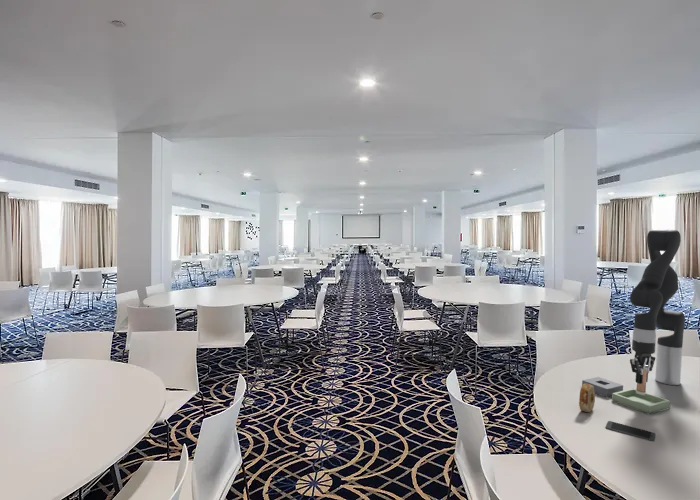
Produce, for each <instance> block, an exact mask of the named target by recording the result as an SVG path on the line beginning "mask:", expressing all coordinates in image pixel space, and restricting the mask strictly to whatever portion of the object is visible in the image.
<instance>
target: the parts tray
mask: <svg viewBox="0 0 700 500" xmlns="http://www.w3.org/2000/svg"><path fill="white" fill-rule="evenodd" d="M636 389H637V388H636ZM636 389H635V388H628V389H623V391H620V392H616V393H612V396H611V401H612V402H615V403H617V404H619V405H623V406H625V407H628V408H631V409H633V410H636V411H639V412H641V413H644V414H646V415H652V414H655V413H658V412H661V411H665V410H668V409H670V407H671V400H669V399H666V398H662V397H660V396H658V395H654V394H651V393H649V392H646V395H639V394H637V393H636Z"/></svg>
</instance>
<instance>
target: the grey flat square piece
mask: <svg viewBox="0 0 700 500" xmlns="http://www.w3.org/2000/svg"><path fill="white" fill-rule="evenodd" d="M583 384H590V385H592V386H594V391H595V394H597V395H599V394H600V395H599V396H602V397H605V398H609V397H612V393H616V392H620V391H624V385H623V384H620V383H618V382H614V381H612V380H608V379H606V378H602V377H600V376H596V377H595V376H594V377H591V378H587V379H582V383H581V386H582V385H583Z"/></svg>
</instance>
